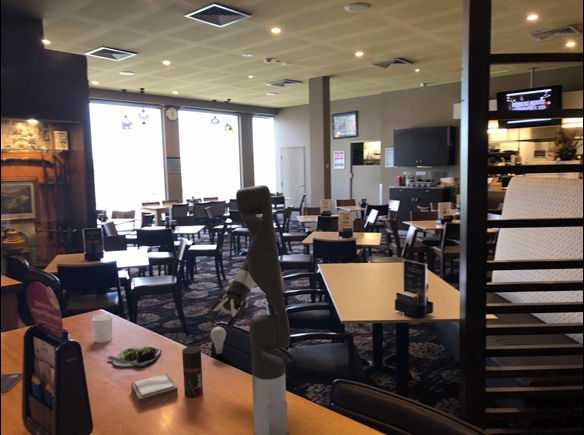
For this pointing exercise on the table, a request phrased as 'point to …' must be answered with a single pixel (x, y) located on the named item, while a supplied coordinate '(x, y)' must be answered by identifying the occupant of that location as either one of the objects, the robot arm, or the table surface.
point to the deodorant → (192, 371)
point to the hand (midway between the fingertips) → (219, 325)
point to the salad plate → (136, 357)
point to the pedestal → (154, 390)
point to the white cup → (102, 328)
